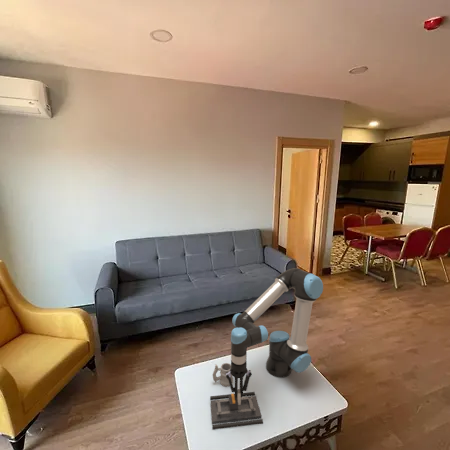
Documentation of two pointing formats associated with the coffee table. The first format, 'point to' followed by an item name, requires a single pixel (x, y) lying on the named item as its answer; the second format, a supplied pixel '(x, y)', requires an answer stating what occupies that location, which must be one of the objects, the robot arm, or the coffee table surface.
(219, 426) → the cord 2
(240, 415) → the breaker panel
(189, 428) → the coffee table surface
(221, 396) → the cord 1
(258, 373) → the coffee table surface
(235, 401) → the breaker toggle
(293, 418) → the coffee table surface
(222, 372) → the mug
